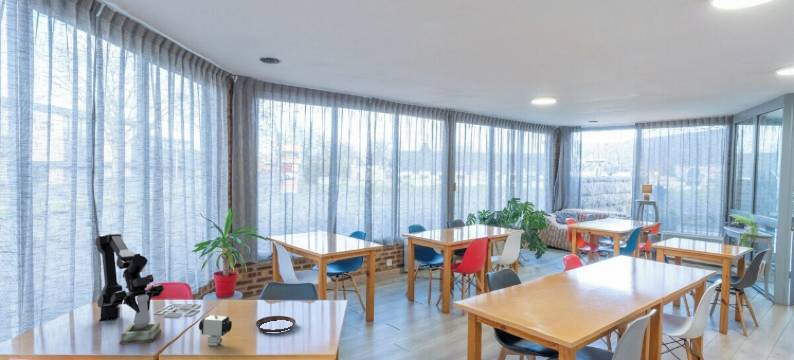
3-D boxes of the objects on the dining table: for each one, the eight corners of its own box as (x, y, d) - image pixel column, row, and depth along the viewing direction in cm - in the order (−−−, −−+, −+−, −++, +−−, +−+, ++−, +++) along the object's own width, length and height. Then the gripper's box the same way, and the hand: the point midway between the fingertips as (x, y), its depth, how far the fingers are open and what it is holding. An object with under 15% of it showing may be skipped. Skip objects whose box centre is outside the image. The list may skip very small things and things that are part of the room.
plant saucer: (302, 329, 187) (303, 322, 187) (267, 339, 174) (268, 332, 174) (282, 319, 199) (282, 313, 199) (248, 327, 186) (248, 321, 186)
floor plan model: (199, 320, 193) (199, 316, 193) (148, 317, 194) (148, 313, 194) (218, 308, 211) (218, 304, 211) (172, 305, 213) (172, 301, 213)
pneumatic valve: (225, 347, 163) (227, 318, 163) (197, 345, 163) (199, 316, 163) (232, 342, 168) (233, 313, 168) (204, 340, 169) (206, 311, 169)
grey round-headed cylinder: (143, 322, 173) (144, 292, 173) (152, 325, 171) (154, 294, 171) (129, 327, 168) (131, 296, 167) (139, 329, 165) (141, 298, 165)
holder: (119, 344, 161) (119, 334, 161) (129, 333, 173) (129, 323, 173) (153, 341, 165) (153, 332, 165) (160, 331, 176) (161, 322, 177)
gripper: (114, 272, 164) (124, 305, 157) (163, 266, 179) (174, 296, 172) (106, 287, 168) (115, 321, 162) (154, 280, 184) (164, 310, 177)
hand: (143, 311), depth 168 cm, fingers closed on grey round-headed cylinder, 3 cm apart
